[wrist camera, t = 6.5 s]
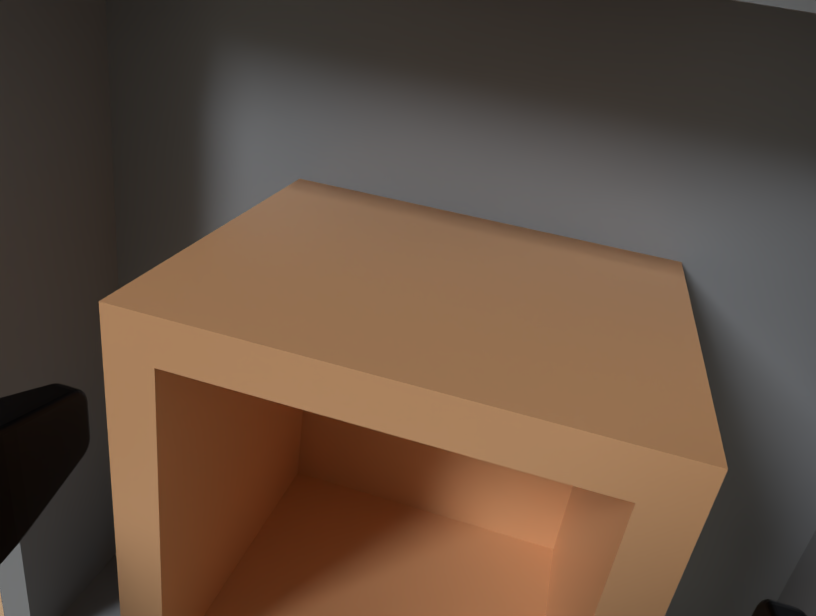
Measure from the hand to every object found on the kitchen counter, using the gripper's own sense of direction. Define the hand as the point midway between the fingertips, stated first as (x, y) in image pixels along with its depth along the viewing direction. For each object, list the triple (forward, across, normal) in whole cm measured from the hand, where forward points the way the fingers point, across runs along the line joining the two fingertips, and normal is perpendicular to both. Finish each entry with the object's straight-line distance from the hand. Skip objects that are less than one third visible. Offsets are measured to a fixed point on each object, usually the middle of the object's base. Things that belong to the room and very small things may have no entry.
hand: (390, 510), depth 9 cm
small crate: (+4, 0, 0) cm, 4 cm away
